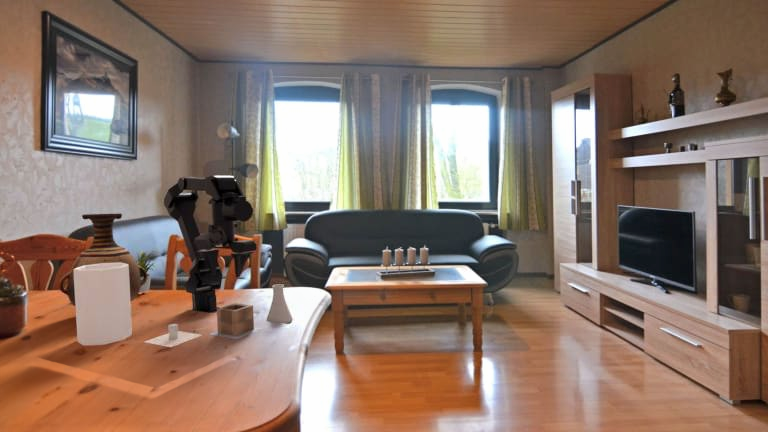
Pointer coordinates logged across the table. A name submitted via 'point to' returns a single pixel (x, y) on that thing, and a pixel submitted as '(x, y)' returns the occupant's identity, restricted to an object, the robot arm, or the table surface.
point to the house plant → (143, 264)
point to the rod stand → (173, 337)
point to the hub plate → (236, 336)
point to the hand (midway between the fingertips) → (225, 275)
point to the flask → (279, 306)
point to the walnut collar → (235, 319)
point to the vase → (105, 255)
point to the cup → (102, 303)
